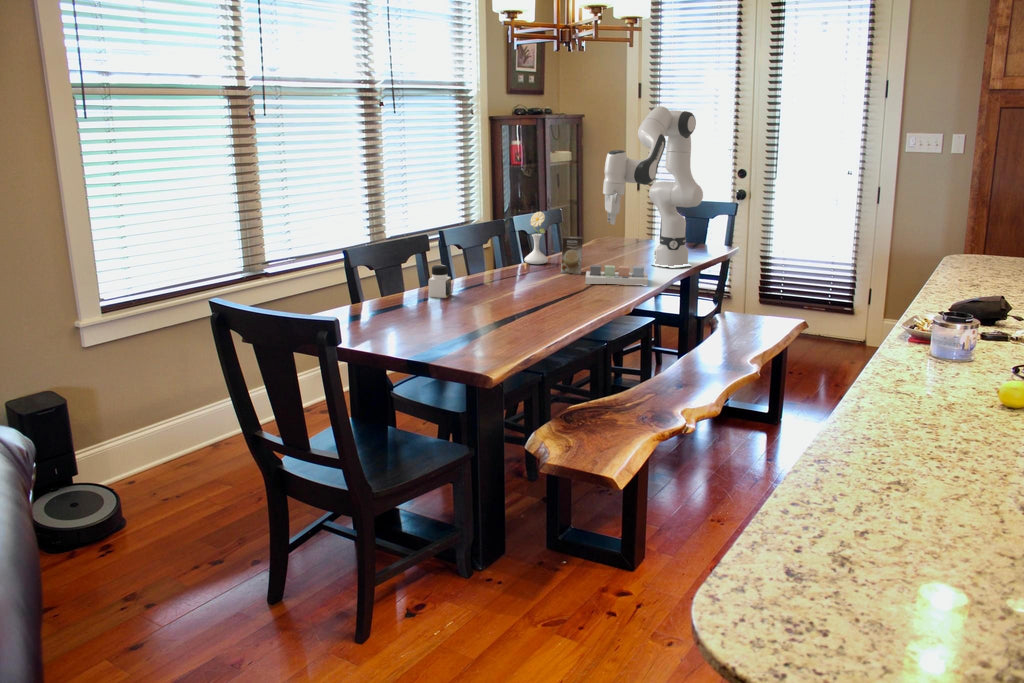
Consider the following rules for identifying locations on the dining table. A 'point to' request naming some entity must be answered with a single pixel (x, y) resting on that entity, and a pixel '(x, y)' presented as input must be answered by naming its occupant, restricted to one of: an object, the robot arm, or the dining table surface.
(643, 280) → the keypad
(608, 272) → the key sage
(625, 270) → the key terracotta
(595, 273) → the key charcoal
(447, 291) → the medicine bottle
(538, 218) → the flower in vase
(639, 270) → the key slate
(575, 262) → the coffee box
